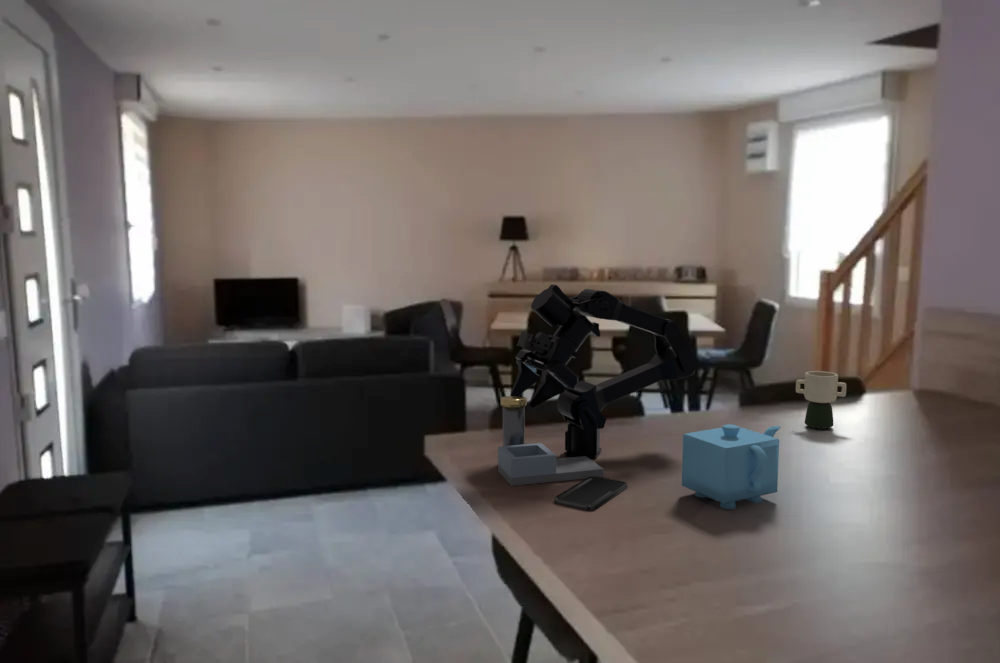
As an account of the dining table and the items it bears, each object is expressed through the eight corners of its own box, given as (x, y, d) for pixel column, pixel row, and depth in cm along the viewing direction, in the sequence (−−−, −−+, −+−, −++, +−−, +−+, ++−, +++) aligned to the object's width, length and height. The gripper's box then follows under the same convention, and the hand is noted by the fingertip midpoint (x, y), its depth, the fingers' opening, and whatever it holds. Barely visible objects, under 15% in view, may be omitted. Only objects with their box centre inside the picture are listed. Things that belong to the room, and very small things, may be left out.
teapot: (734, 518, 125) (737, 441, 123) (671, 490, 139) (673, 420, 137) (812, 500, 133) (816, 427, 131) (745, 475, 147) (748, 409, 145)
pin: (529, 460, 157) (529, 396, 155) (522, 467, 152) (522, 402, 150) (505, 457, 158) (505, 395, 157) (497, 465, 154) (497, 400, 152)
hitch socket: (585, 463, 155) (586, 439, 154) (603, 476, 146) (604, 451, 146) (498, 471, 150) (498, 446, 149) (511, 485, 141) (511, 459, 141)
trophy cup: (844, 426, 182) (847, 372, 181) (843, 433, 176) (846, 378, 174) (795, 422, 187) (797, 369, 185) (793, 428, 180) (795, 374, 179)
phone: (552, 498, 132) (591, 475, 145) (551, 504, 132) (591, 481, 145) (593, 507, 128) (629, 482, 140) (593, 514, 128) (629, 488, 141)
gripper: (521, 311, 162) (476, 370, 160) (560, 321, 145) (510, 387, 143) (556, 343, 166) (513, 401, 164) (599, 356, 149) (551, 421, 147)
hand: (521, 401), depth 154 cm, fingers open, 9 cm apart
